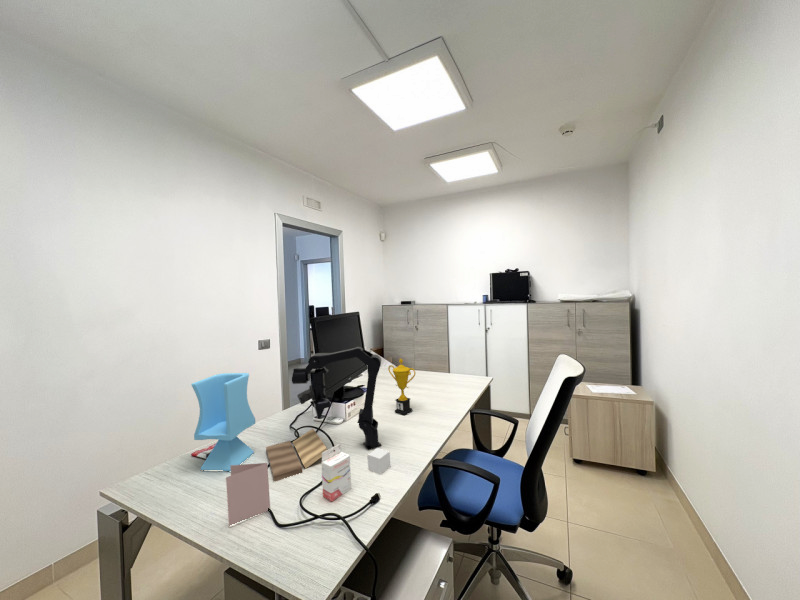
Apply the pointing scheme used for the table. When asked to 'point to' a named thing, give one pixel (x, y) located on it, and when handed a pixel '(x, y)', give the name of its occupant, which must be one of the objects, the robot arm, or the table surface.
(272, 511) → the table surface
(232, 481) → the greeting card
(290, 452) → the walnut board
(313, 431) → the oak plank
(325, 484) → the ink cartridge box
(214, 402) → the blue pedestal chair
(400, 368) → the trophy
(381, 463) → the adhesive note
